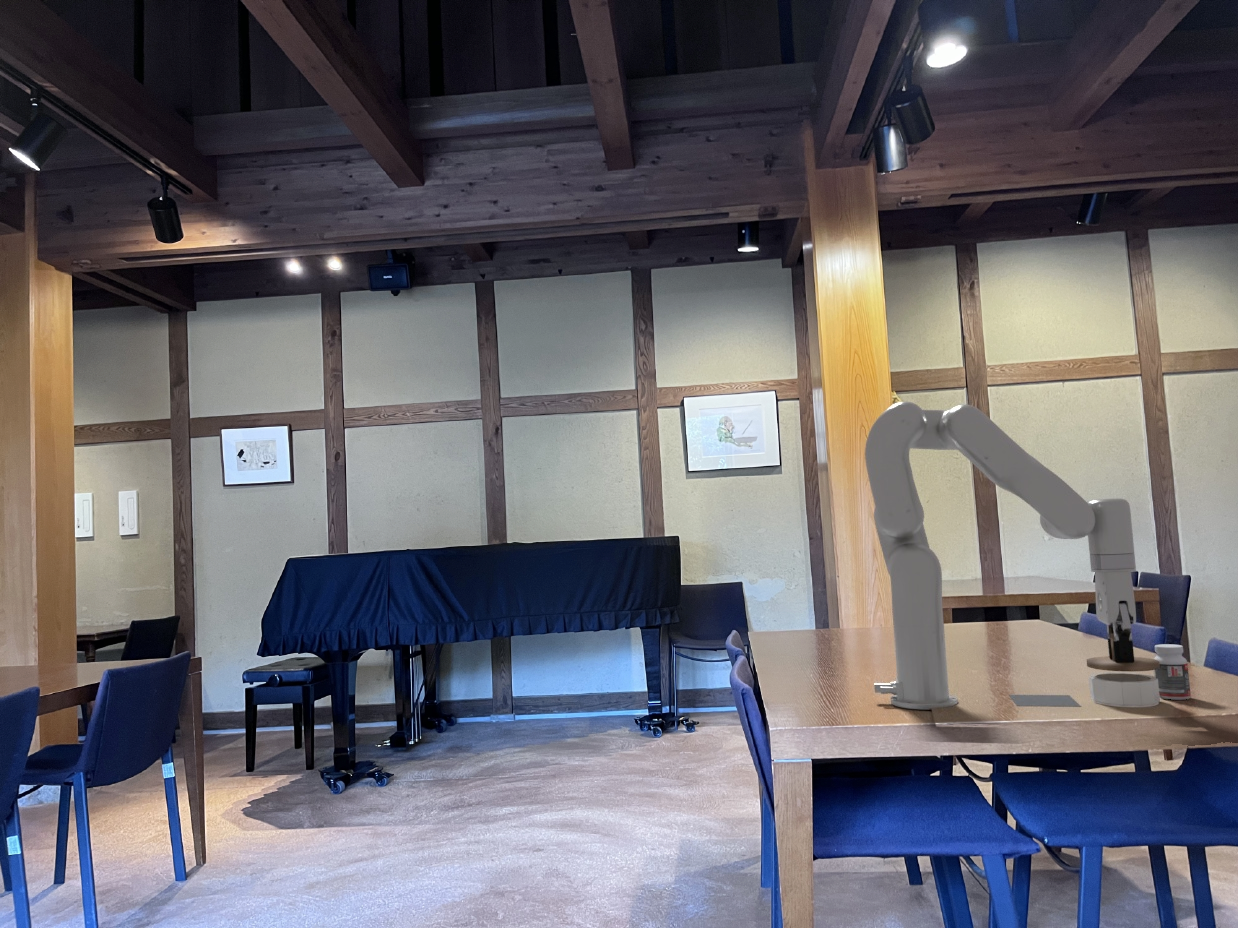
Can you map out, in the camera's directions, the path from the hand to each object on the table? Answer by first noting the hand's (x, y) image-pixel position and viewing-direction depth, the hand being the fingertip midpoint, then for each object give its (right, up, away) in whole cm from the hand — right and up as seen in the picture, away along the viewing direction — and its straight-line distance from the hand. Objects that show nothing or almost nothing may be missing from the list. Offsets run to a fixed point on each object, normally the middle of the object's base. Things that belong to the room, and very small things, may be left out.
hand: (1121, 660), depth 167 cm
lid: (0, -1, 0) cm, 1 cm away
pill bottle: (+12, -8, +3) cm, 15 cm away
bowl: (0, -8, -1) cm, 8 cm away
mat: (-13, -9, +3) cm, 16 cm away
